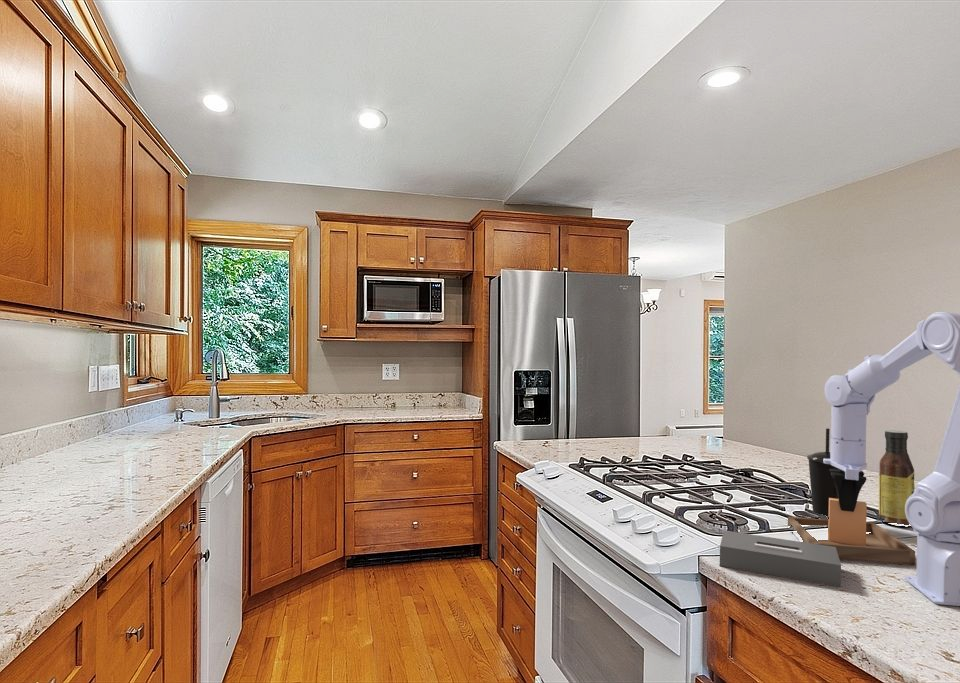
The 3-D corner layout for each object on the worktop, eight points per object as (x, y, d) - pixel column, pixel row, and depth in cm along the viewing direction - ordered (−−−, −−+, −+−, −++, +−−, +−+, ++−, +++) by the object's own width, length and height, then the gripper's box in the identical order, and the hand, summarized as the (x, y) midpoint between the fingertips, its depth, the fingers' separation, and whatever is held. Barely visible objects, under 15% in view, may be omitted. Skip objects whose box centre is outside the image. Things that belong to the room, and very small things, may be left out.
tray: (914, 565, 103) (915, 551, 103) (815, 557, 106) (815, 543, 106) (873, 534, 119) (873, 522, 119) (787, 528, 122) (787, 516, 122)
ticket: (864, 543, 112) (865, 502, 112) (865, 546, 110) (866, 504, 110) (828, 538, 114) (828, 497, 114) (828, 541, 113) (829, 499, 113)
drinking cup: (798, 517, 130) (799, 427, 129) (820, 513, 133) (822, 425, 132) (831, 527, 123) (833, 432, 122) (854, 523, 126) (856, 430, 125)
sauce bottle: (920, 529, 122) (922, 434, 122) (886, 527, 123) (888, 433, 123) (904, 519, 128) (906, 429, 128) (872, 517, 130) (874, 428, 129)
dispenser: (835, 567, 102) (835, 545, 102) (840, 586, 94) (841, 563, 94) (723, 548, 110) (723, 528, 110) (719, 565, 102) (720, 544, 102)
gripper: (821, 431, 120) (819, 496, 121) (827, 442, 107) (825, 516, 108) (861, 434, 117) (860, 501, 117) (873, 446, 104) (871, 522, 104)
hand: (846, 509), depth 112 cm, fingers closed on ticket, 1 cm apart
